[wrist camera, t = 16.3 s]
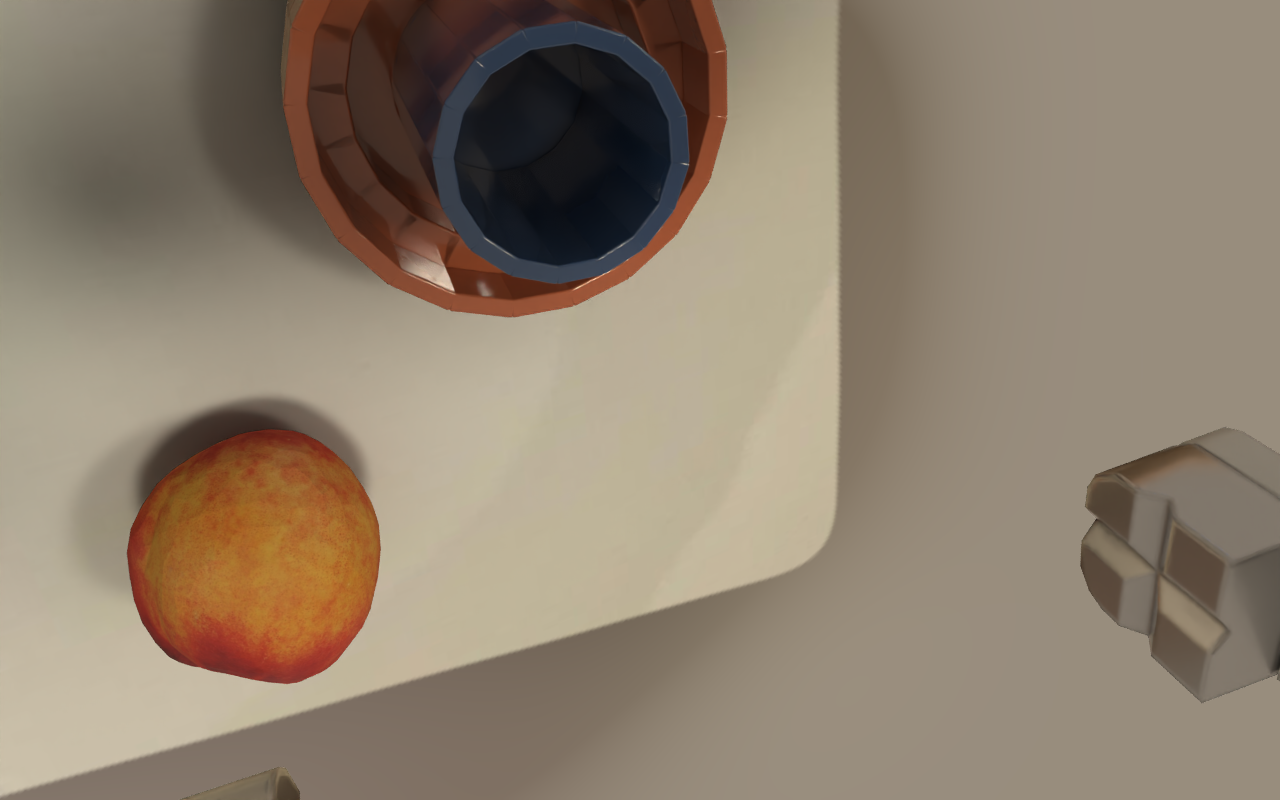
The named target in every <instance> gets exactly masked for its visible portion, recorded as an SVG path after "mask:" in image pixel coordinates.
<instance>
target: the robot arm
mask: <svg viewBox="0 0 1280 800" xmlns="http://www.w3.org/2000/svg"><path fill="white" fill-rule="evenodd" d="M1085 507H1086V508H1087V509H1088V510H1089V512H1090V513H1091V514H1092V515H1093V516H1094V517H1095V518H1096V520H1095V522H1094V523H1093V524H1092V526H1091V527H1090V529H1089V530H1088V532H1087V533H1086V535H1085V536H1084V538H1083V540H1082V544H1081V569H1082V572H1083V574H1084V577H1085V580H1086V583H1087V586H1088V589H1089V591H1090V592H1091V594H1092V596H1093V597H1094V599H1095V600H1096V601H1097V603H1098V604H1099V606H1100V607H1101V609H1102V610H1103V611H1104V612H1105V613H1106V614H1107V615H1108V616H1110V617H1111V618H1112V619H1113V620H1114V621H1115V622H1116V623H1117V624H1118V625H1119V626H1121V627H1124V628H1127V629H1130V630H1133V631H1136V632H1139V633H1142V634H1145V635H1148V638H1149V644H1150V651H1151V656H1152V657H1153V658H1154V659H1155V660H1156V661H1157V662H1158V663H1159V664H1160V665H1161V666H1163V668H1165V669H1166V670H1167V671H1168V672H1169V673H1170V674H1171V675H1172V676H1173V677H1174V678H1175V679H1176V680H1177V681H1179V682H1180V683H1181V684H1182V685H1183V686H1184V687H1185V688H1186V689H1187V690H1188V691H1189V692H1190V693H1192V694H1193V695H1194V696H1195V697H1196V698H1197V699H1198V700H1199V701H1200V702H1201V703H1203V702H1206V701H1209V700H1211V699H1214V698H1216V697H1219V696H1222V695H1224V694H1227V693H1230V692H1232V691H1235V690H1238V689H1240V688H1243V687H1246V686H1248V685H1251V684H1253V683H1256V682H1258V681H1261V680H1264V679H1267V678H1269V677H1272V676H1275V675H1277V674H1278V677H1277V680H1279V681H1280V454H1278V453H1277V452H1275V451H1274V450H1272V449H1270V448H1269V447H1267V446H1265V445H1264V444H1262V443H1261V442H1259V441H1257V440H1256V439H1254V438H1252V437H1251V436H1249V435H1247V434H1246V433H1244V432H1242V431H1239V430H1235V429H1231V428H1226V427H1224V428H1221V429H1218V430H1215V431H1213V432H1210V433H1207V434H1205V435H1202V436H1199V437H1196V438H1194V439H1191V440H1188V441H1185V442H1183V443H1181V444H1180V445H1176V446H1172V447H1169V448H1166V449H1163V450H1161V451H1158V452H1155V453H1153V454H1150V455H1147V456H1144V457H1142V458H1139V459H1137V460H1134V461H1131V462H1129V463H1126V464H1123V465H1120V466H1117V467H1115V468H1112V469H1109V470H1107V471H1104V472H1101V473H1099V474H1096V475H1095V476H1094V478H1093V479H1092V481H1091V483H1090V484H1089V486H1088V487H1087V495H1086V504H1085ZM180 800H300V792H299V790H298V788H297V786H296V785H295V783H294V781H293V779H292V778H291V776H290V774H289V773H288V771H287V769H286V768H282V767H277V768H274V769H271V770H268V771H265V772H262V773H259V774H255V775H252V776H249V777H247V778H243V779H241V780H237V781H234V782H231V783H228V784H225V785H222V786H219V787H216V788H213V789H210V790H207V791H204V792H201V793H198V794H195V795H192V796H189V797H186V798H183V799H180Z"/></svg>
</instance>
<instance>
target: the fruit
mask: <svg viewBox="0 0 1280 800" xmlns="http://www.w3.org/2000/svg"><path fill="white" fill-rule="evenodd" d="M380 551H381V547H380V535H379V524H378V521H377V517H376V514H375V511H374V508H373V506H372V503H371V501H370V499H369V497H368V495H367V494H366V492H365V490H364V488H363V486H362V485H361V483H360V482H359V481H358V479H357V478H356V476H355V475H354V473H353V472H352V470H351V469H350V468H349V467H348V466H347V465H346V464H345V463H344V462H343V461H342V460H341V459H340V458H339V457H338V456H337V455H336V454H335V453H334V452H333V451H331V450H330V449H329V448H327V447H326V446H325V445H323V444H322V443H321V442H319V441H317V440H315V439H313V438H311V437H309V436H307V435H305V434H303V433H299V432H295V431H289V430H270V429H266V430H260V431H253V432H248V433H242V434H239V435H236V436H234V437H231V438H229V439H226V440H224V441H222V442H219V443H217V444H215V445H213V446H211V447H209V448H207V449H205V450H203V451H201V452H199V453H198V454H196V455H194V456H192V457H191V458H189V459H188V460H186V461H185V462H183V463H182V464H180V465H179V466H177V467H176V468H174V469H173V470H172V471H171V472H170V473H169V474H168V475H167V476H165V477H164V478H163V479H162V480H161V481H160V482H159V483H158V484H157V485H156V486H155V488H154V489H153V491H152V492H151V493H150V495H149V496H148V498H147V499H146V501H145V502H144V503H143V505H142V507H141V509H140V511H139V513H138V515H137V517H136V519H135V521H134V523H133V525H132V527H131V531H130V537H129V543H128V549H127V557H128V566H129V574H130V580H131V586H132V591H133V597H134V601H135V604H136V607H137V610H138V612H139V615H140V618H141V621H142V623H143V624H144V626H145V627H146V629H147V630H148V632H149V633H150V635H151V637H152V638H153V640H154V641H155V643H156V644H157V645H158V646H159V647H160V648H161V649H162V650H163V651H164V652H165V653H166V654H167V655H168V656H169V657H170V658H172V659H174V660H176V661H178V662H181V663H184V664H187V665H190V666H194V667H201V668H204V669H207V670H210V671H214V672H220V673H226V674H230V675H235V676H239V677H243V678H248V679H253V680H258V681H264V682H272V683H283V684H290V683H297V682H300V681H302V680H304V679H307V678H309V677H311V676H314V675H316V674H318V673H320V672H322V671H324V670H326V669H327V668H328V667H330V666H331V665H332V664H333V663H334V662H336V661H337V660H338V658H339V657H340V656H341V655H342V653H343V652H344V651H345V649H346V648H347V647H348V646H349V644H350V643H351V642H352V640H353V639H354V638H355V636H356V635H357V634H358V632H359V631H360V629H361V628H362V627H363V625H364V622H365V620H366V618H367V616H368V613H369V611H370V609H371V604H372V600H373V596H374V591H375V587H376V583H377V579H378V570H379V561H380Z"/></svg>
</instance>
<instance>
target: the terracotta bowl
mask: <svg viewBox="0 0 1280 800" xmlns="http://www.w3.org/2000/svg"><path fill="white" fill-rule="evenodd" d="M425 1H426V0H288V3H287V5H286V16H285V26H284V36H283V47H282V57H281V68H280V70H281V84H282V99H283V109H284V113H285V117H286V122H287V126H288V130H289V135H290V139H291V143H292V148H293V152H294V156H295V161H296V165H297V169H298V174H299V177H300V178H301V181H302V183H303V185H304V186H305V188H306V190H307V191H308V193H309V195H310V196H311V198H312V200H313V201H314V203H315V204H316V206H317V208H318V209H319V211H320V213H321V214H322V216H323V218H324V219H325V221H326V223H327V224H328V226H329V228H330V229H331V231H332V233H333V234H334V236H335V237H336V238H337V239H338V241H339V242H340V243H341V244H342V245H343V246H344V247H346V248H347V249H348V250H349V251H350V252H351V253H352V254H354V255H355V256H356V257H357V258H358V259H359V260H361V261H362V262H363V263H364V264H365V265H366V266H367V267H369V268H370V269H371V270H372V271H373V272H374V273H376V274H377V275H378V276H379V277H380V278H381V279H382V280H384V281H385V282H386V283H387V284H390V285H391V286H393V287H395V288H398V289H400V290H402V291H405V292H407V293H409V294H412V295H414V296H416V297H418V298H421V299H423V300H425V301H428V302H430V303H432V304H435V305H437V306H439V307H442V308H444V309H446V310H449V309H450V310H451V311H457V312H466V313H475V314H484V315H493V316H502V317H512V316H513V317H519V316H524V315H529V314H535V313H540V312H546V311H551V310H556V309H562V308H567V307H572V306H573V305H577V304H579V303H581V302H583V301H585V300H587V299H589V298H591V297H593V296H595V295H597V294H599V293H601V292H603V291H605V290H607V289H609V288H611V287H613V286H615V285H617V284H619V283H621V282H623V281H625V280H627V279H628V278H629V277H631V276H633V275H634V274H635V273H636V272H637V271H638V270H639V269H640V268H641V267H642V266H643V265H644V264H646V263H647V262H648V261H649V260H650V259H651V258H652V257H653V256H654V255H655V254H656V253H657V252H659V251H660V250H661V249H662V248H663V247H664V246H665V245H666V244H667V243H668V242H669V241H670V240H671V239H673V238H674V237H675V235H677V233H678V232H679V230H680V229H681V227H682V225H683V224H684V222H685V220H686V219H687V217H688V215H689V214H690V212H691V211H692V209H693V207H694V206H695V204H696V202H697V201H698V199H699V197H700V196H701V194H702V193H703V191H704V189H705V188H706V186H707V184H708V183H709V180H710V178H711V175H712V171H713V167H714V164H715V160H716V157H717V153H718V149H719V146H720V142H721V139H722V135H723V132H724V128H725V124H726V121H727V117H726V116H727V51H726V44H725V41H724V38H723V35H722V32H721V28H720V25H719V22H718V19H717V16H716V12H715V9H714V6H713V3H712V0H566V1H568V2H570V3H572V4H573V5H575V6H577V7H579V8H580V9H582V10H584V11H585V12H587V13H589V14H591V15H592V16H594V17H596V18H598V19H599V20H601V21H603V22H605V23H606V24H608V25H610V26H611V27H613V28H615V29H617V30H618V31H620V32H622V33H624V34H625V35H627V36H629V37H630V38H631V39H632V40H633V41H635V42H636V43H637V44H638V45H639V46H640V47H641V48H643V49H644V50H645V51H646V52H647V53H648V54H650V55H651V56H652V57H653V58H654V59H655V60H657V61H658V62H659V63H660V64H661V65H662V66H663V67H664V69H665V70H666V71H667V73H668V75H669V77H670V79H671V81H672V83H673V85H674V88H675V90H676V92H677V94H678V96H679V98H680V100H681V102H682V104H683V106H684V109H685V111H686V115H687V127H688V144H689V167H688V170H687V173H686V177H685V180H684V183H683V186H682V189H681V192H680V195H679V198H678V202H677V205H676V208H675V210H674V211H673V213H672V214H671V216H670V217H669V218H668V219H667V221H666V222H665V223H664V225H663V226H662V227H661V229H660V230H659V231H658V232H657V234H656V235H655V236H654V238H653V239H652V240H651V241H650V243H649V244H648V245H647V247H646V248H644V249H643V250H642V251H641V252H639V253H638V254H636V255H634V256H633V257H631V258H630V259H628V260H626V261H625V262H623V263H622V264H620V265H618V266H617V267H615V268H614V269H612V270H611V271H609V272H607V273H606V274H603V275H600V276H595V277H590V278H585V279H581V280H576V281H571V282H566V283H561V284H552V283H547V282H541V281H535V280H530V279H524V278H518V277H513V276H511V275H508V274H506V273H504V272H503V271H501V270H500V269H498V268H497V267H495V266H493V265H492V264H490V263H489V262H487V261H486V260H484V259H483V258H481V257H479V256H478V255H476V254H475V253H473V252H472V251H471V250H470V249H468V247H467V246H466V244H465V243H464V241H463V240H462V239H461V237H460V236H459V234H458V233H457V231H456V230H455V228H454V227H453V225H452V224H451V222H450V221H449V219H448V218H447V216H446V215H445V213H444V212H443V210H442V208H441V206H440V204H439V202H438V200H437V198H436V195H435V193H434V191H433V189H432V187H431V185H430V183H429V180H428V178H427V176H426V174H425V172H424V170H423V168H422V165H421V163H420V161H419V159H418V157H417V155H416V153H415V150H414V148H413V146H412V144H411V142H410V140H409V138H408V136H407V133H406V131H405V129H404V127H403V125H402V122H401V119H400V114H399V111H398V107H397V104H396V100H395V95H394V88H393V66H394V58H395V53H396V49H397V46H398V42H399V40H400V37H401V35H402V32H403V30H404V28H405V27H406V25H407V23H408V21H409V20H410V18H411V17H412V15H413V14H414V13H415V11H416V10H417V9H418V8H419V6H420V5H422V4H423V3H424V2H425Z"/></svg>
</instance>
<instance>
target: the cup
mask: <svg viewBox="0 0 1280 800" xmlns="http://www.w3.org/2000/svg"><path fill="white" fill-rule="evenodd" d="M393 88H394V95H395V100H396V104H397V107H398V111H399V114H400V119H401V122H402V125H403V127H404V129H405V131H406V133H407V136H408V138H409V140H410V142H411V144H412V146H413V148H414V150H415V153H416V155H417V157H418V159H419V161H420V163H421V165H422V168H423V170H424V172H425V174H426V176H427V178H428V180H429V183H430V185H431V187H432V189H433V191H434V193H435V195H436V198H437V200H438V202H439V204H440V206H441V208H442V210H443V212H444V213H445V215H446V216H447V218H448V219H449V221H450V222H451V224H452V225H453V227H454V228H455V230H456V231H457V233H458V234H459V236H460V237H461V239H462V240H463V241H464V243H465V244H466V246H467V247H468V249H470V250H471V251H472V252H473V253H475V254H476V255H478V256H479V257H481V258H483V259H484V260H486V261H487V262H489V263H490V264H492V265H493V266H495V267H497V268H498V269H500V270H501V271H503V272H504V273H506V274H508V275H511V276H513V277H518V278H524V279H530V280H535V281H541V282H547V283H552V284H561V283H566V282H571V281H576V280H581V279H585V278H590V277H595V276H600V275H603V274H606V273H607V272H609V271H611V270H612V269H614V268H615V267H617V266H618V265H620V264H622V263H623V262H625V261H626V260H628V259H630V258H631V257H633V256H634V255H636V254H638V253H639V252H641V251H642V250H643V249H644V248H646V247H647V245H648V244H649V243H650V241H651V240H652V239H653V238H654V236H655V235H656V234H657V232H658V231H659V230H660V229H661V227H662V226H663V225H664V223H665V222H666V221H667V219H668V218H669V217H670V216H671V214H672V213H673V211H674V210H675V208H676V205H677V202H678V198H679V195H680V192H681V189H682V186H683V183H684V180H685V177H686V173H687V170H688V167H689V144H688V127H687V115H686V111H685V109H684V106H683V104H682V102H681V100H680V98H679V96H678V94H677V92H676V90H675V88H674V85H673V83H672V81H671V79H670V77H669V75H668V73H667V71H666V70H665V69H664V67H663V66H662V65H661V64H660V63H659V62H658V61H657V60H655V59H654V58H653V57H652V56H651V55H650V54H648V53H647V52H646V51H645V50H644V49H643V48H641V47H640V46H639V45H638V44H637V43H636V42H635V41H633V40H632V39H631V38H630V37H629V36H627V35H625V34H624V33H622V32H620V31H618V30H617V29H615V28H613V27H611V26H610V25H608V24H606V23H605V22H603V21H601V20H599V19H598V18H596V17H594V16H592V15H591V14H589V13H587V12H585V11H584V10H582V9H580V8H579V7H577V6H575V5H573V4H572V3H570V2H568V1H566V0H426V1H425V2H424V3H423V4H422V5H420V6H419V8H418V9H417V10H416V11H415V13H414V14H413V15H412V17H411V18H410V20H409V21H408V23H407V25H406V27H405V28H404V30H403V32H402V35H401V37H400V40H399V42H398V46H397V49H396V53H395V58H394V66H393Z"/></svg>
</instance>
